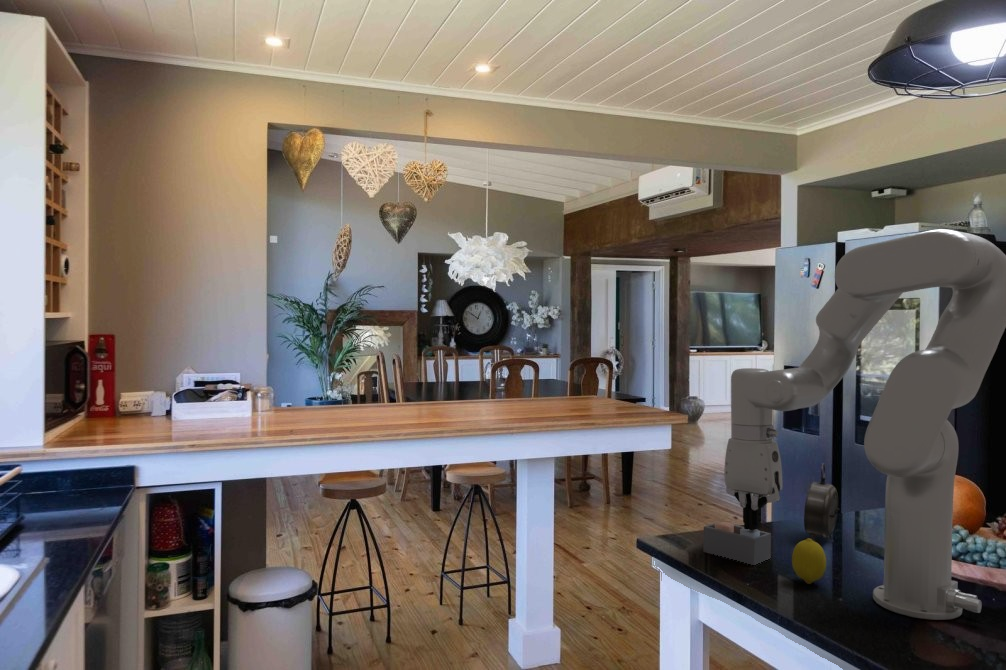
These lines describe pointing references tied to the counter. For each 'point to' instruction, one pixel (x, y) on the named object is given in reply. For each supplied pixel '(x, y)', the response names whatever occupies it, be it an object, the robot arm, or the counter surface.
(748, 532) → the pale blue cube
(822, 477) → the alarm clock
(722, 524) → the peach rounded cube
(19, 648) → the counter surface
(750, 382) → the robot arm
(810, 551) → the lemon
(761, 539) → the grey storage bin
